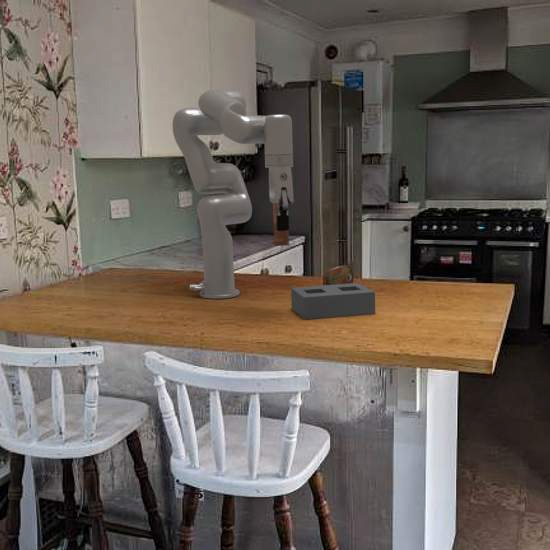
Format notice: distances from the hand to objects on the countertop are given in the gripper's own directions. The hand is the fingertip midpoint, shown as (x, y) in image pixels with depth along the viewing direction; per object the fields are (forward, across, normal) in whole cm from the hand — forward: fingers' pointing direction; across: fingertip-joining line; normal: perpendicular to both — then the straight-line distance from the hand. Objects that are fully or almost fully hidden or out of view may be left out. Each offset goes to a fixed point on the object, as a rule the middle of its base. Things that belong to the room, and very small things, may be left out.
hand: (281, 229), depth 189 cm
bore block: (+23, -2, -13) cm, 27 cm away
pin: (+4, 0, 0) cm, 4 cm away
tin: (+24, +21, -22) cm, 38 cm away
